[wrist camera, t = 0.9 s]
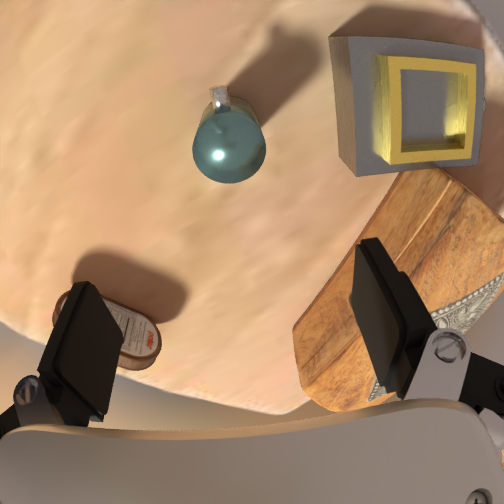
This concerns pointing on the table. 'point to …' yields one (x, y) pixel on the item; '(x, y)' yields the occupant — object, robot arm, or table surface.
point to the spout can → (228, 139)
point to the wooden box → (420, 273)
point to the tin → (129, 335)
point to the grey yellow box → (406, 103)
